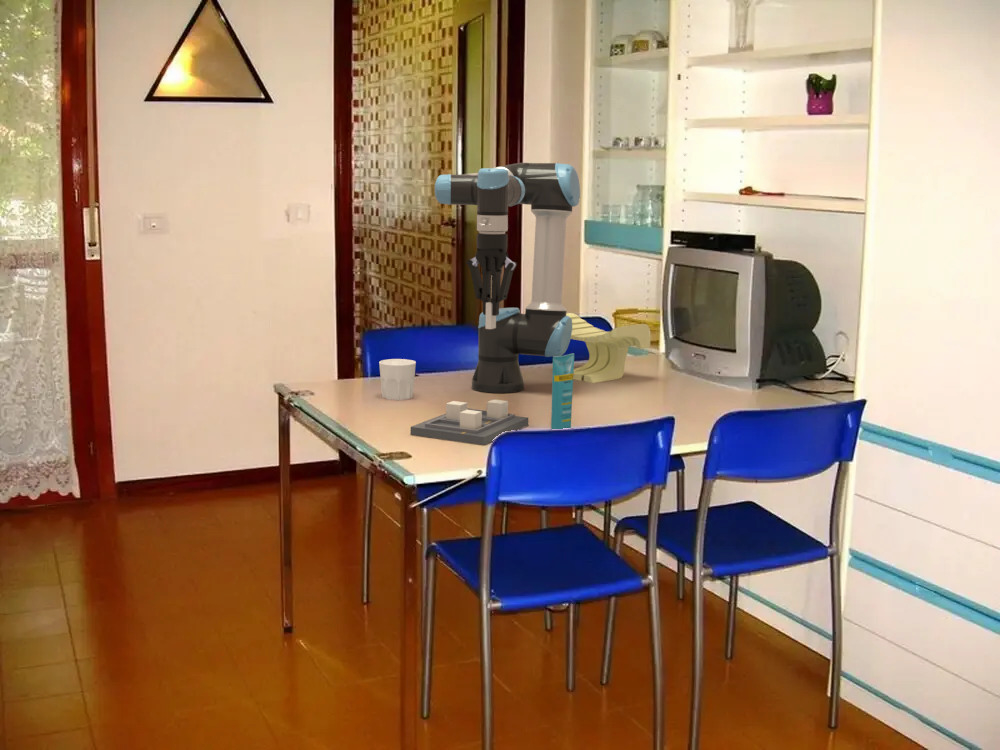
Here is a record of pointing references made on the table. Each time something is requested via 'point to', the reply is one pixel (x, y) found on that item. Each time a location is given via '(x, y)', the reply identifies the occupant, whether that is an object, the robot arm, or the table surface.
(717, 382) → the table surface
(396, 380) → the cup
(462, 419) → the white cube
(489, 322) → the robot arm
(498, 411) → the tab far
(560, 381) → the tube
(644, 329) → the slatted curved stool
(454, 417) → the tab mid
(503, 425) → the switch board
